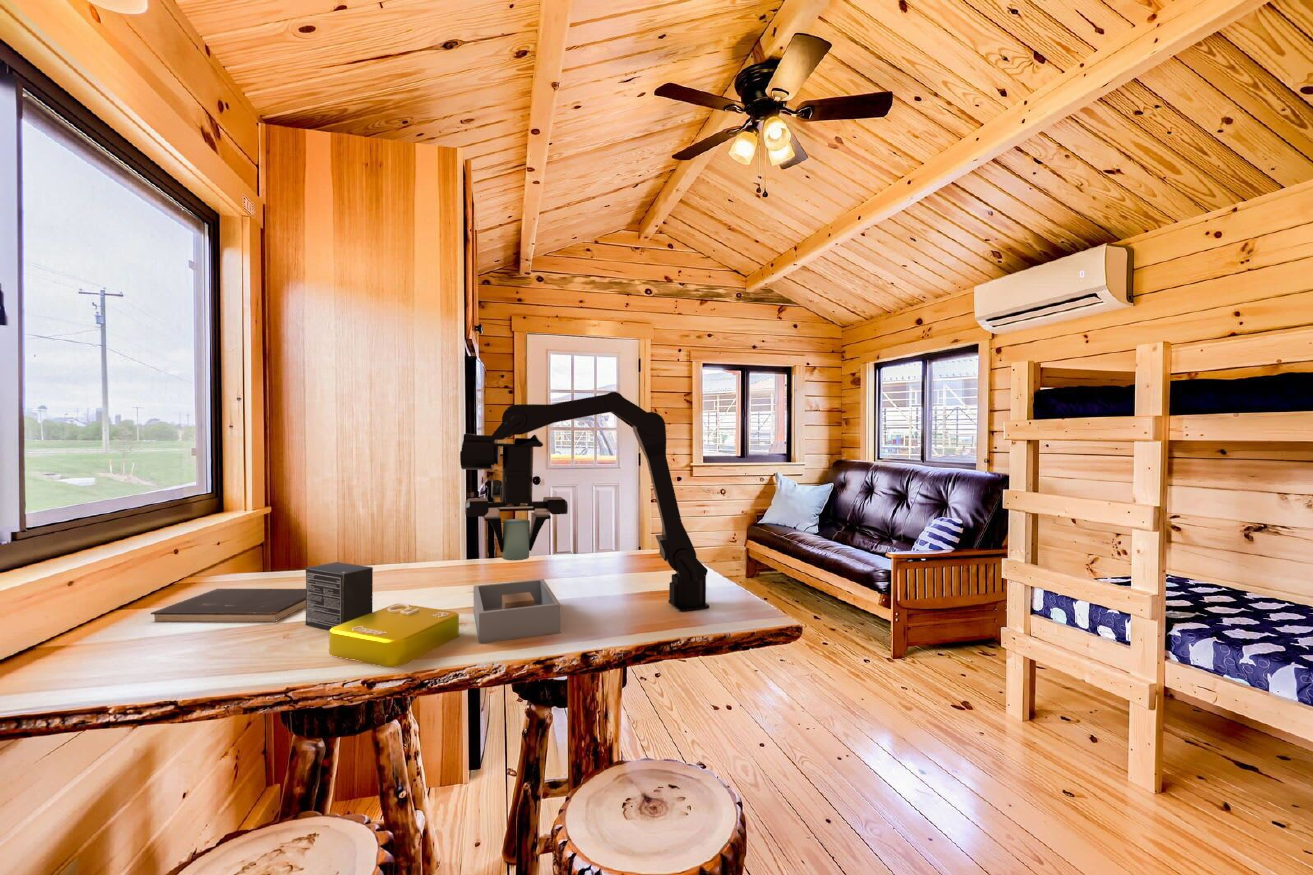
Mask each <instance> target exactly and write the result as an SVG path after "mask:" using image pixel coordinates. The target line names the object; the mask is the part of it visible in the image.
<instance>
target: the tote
mask: <svg viewBox="0 0 1313 875" xmlns="http://www.w3.org/2000/svg"><path fill="white" fill-rule="evenodd" d="M526 592H530V593H531V595H532V597H533V599H534V606H528V607H519V608H510V609H502V595H506V594H516V593H526ZM473 614H474V621H475V626H476V632H477V639H478V643H479V644H484V643H485V644H486V643H492V642H493V643H494V642H499V641H508V640H514V639H522V638H531V637H538V636H546V635H553V634H561V603H560V601H559V600H558V598H557V597H556V595H555V594H554V592H553V590H551V588H550V586H549V585H548V584H547V582H546V581H545V579H543V578H542V579H539V578H538V579H530V580H520V581H519V580H518V581H507V582H498V583H486V584H476V585H475V584H474V585H473Z"/></svg>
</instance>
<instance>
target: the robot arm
mask: <svg viewBox="0 0 1313 875" xmlns="http://www.w3.org/2000/svg"><path fill="white" fill-rule="evenodd" d="M607 413H611V414H612V415H614V416H615V417H617V418H618V419H619V420H621V422H623V423H625V424H626V425H627V426H629V427H630V428H632V431H633V434H634V436H635V438H636V440H637V442H638V445H639V447H640V450H641V451H642V453H643V455H644V457H645V460H646V463H647V467H648V471H649V475H650V479H651V484H652V488H653V492H654V496H655V500H656V505H657V509H658V513H659V517H660V522H661V534H655V538H656V541H657V543H658V546H659V551H658V553H659V555H660V557H661V558H662V559H663V561H664V562H667V563H668V565H669V566H670V568H671V569H672V570H673V571H675V573H673V574H671V581H670V582H669V586H668V587H669V589H668V590H669V596H668V597H669V598H668V602H667V603H669V604H670V605H671V606H673V607H674V609H676V610H677V611H679V612H686V611H687V612H688V611H694V610H704V609H709V608H710V605H709V603H707V592H706V591H707V589H706V588H707V574H708V569H707V567H705V565H704V564H703V563H702V562H701V561H700V560H699V559H698V558H697V552H696V550H695V547H694V545H693V542H692V541H691V538H690V535H689V534H688V532H687V530H686V529H685V526H684V524H683V522H682V518H681V513H680V510H679V505H678V501H677V497H676V493H675V488H674V484H673V480H672V476H671V475H672V474H671V472H670V471H671V470H670V468H669V463H668V459H667V429H666V428H667V426H666V422H665V419H664V418H663V416H662V415H660V414H659V413H657V412H655V411H654V412H653V411H646V410H644V409H643V408H642V407H640V406H638V405H637V404H635V403H633V402H632V401H630V400H628V399H627V398H626V397H624V396H623V395H622V394H621V393H620V392H617V391H611V392H608V393H605V394H600V395H599V394H598V395H594V396H589V397H583V398H577V399H574V400H573V399H572V400H568V401H563V402H562V401H561V402H557V403H550V404H545V403H544V404H541V403H540V404H539V403H537V404H534V403H533V404H531V403H530V404H526V403H523V404H520V403H519V404H512V405H510V406H508V407H507V408H506V409H505V410H504V412H503V413H502V417H501V423H500V424H499V425H498V426H497V428H496V430H494V431H493V433H492V434H491V435H489V434H474V433H464V434H463V440H462V444H461V450H460V453H459V461H460V462H459V463H460V468H461V469H462V470H474V471H475V470H480V471H482V470H484V471H486V470H488V471H489V470H490V471H492V470H494V468H495V465H496V466H497V465H500V461H501V447H502V464H501V465H502V470H501V472H502V473H501V480H491V483H490V484H491V485H490V486H491V489H490V492H491V493H490V495H491V499H493V498H494V499H495V498H498V499H499V501H490V502H489V500H488V498H487V497H482V498H481V497H479V498H478V497H477V498H473V497H471V498H467V500H465V504H464V509H465V510H464V514H465V517H466V518H467V517H468V518H476V517H477V518H478V517H482V518H483V521H485V522H490V524H491V527H492V529H493V530H494V531H493V532H494V535H495V538H496V542H497V544H498V548H499V551H500V553H502V552H503V524H502V517H501V516H500V515H499V514H500V512H501V513H503V512H526V511H527V512H529V511H531V513H530V515H531V516H530V541H529V552H532V550H533V548H534V544H535V543H536V540H537V537H538V535H539V533H540V530H541V529H542V527H543V525H544V523H545V521H546V520H551V519H552V517H551V515H567V514H568V509H569V508H568V507H569V505H568V501H567V500H566V499H565V498H563V497H561V496H544V497H542V498H543V499H542V500H536V501H535V500H533V482H534V481H533V479H534V477H533V476H534V448H542V447H543V446H544V443H543V442H542V441H541V440H540V439H539V438H538V435H537V434H533V435H532V436H531V437H530V438H529V437H514V443H513V442H512V443H508V442H507V443H506V442H498V440H499V441H501V440H502V441H503V440H508V439H509V438H512V437H513V436H514V435H515V436H521V435H526V434H528V433H531V432H534V431H537V430H539V429H542V428H544V427H548V426H549V425H553V424H555V423H560V422H565V421H572V420H575V419H582V418H587V417H592V416H599V415H602V414H607ZM532 511H533V512H532ZM550 514H551V515H550Z"/></svg>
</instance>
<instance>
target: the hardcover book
mask: <svg viewBox="0 0 1313 875" xmlns="http://www.w3.org/2000/svg"><path fill="white" fill-rule="evenodd" d="M303 608H306V588H216V589H212V590H210V591H207V592H204V593H202V594H201V593H200V595H196V596H193V597H191V598H187V599H185V600H182V601H179V602H177V603H174V604H172V605H169V606H168V605H167V606H166V607H163V608H160V609H158V610H155V611H152V612H150V615H153V616H154V620H153V621H154V622H238V621H241V622H243V623H244V622H245V623H246V622H248V621H249V622H251V623H252V622H253V621H254V622H256V621H275V622H277V621H279V620H281V619H284V618H285V617H287V616H289V615H292V614H294V613H295V611H296V612H297V610H298V609H300V610H302V609H303ZM298 611H299V610H298ZM293 612H294V613H293ZM288 614H289V615H288ZM280 618H281V619H280ZM278 619H279V620H278ZM276 620H277V621H276ZM254 622H253V623H254ZM256 623H257V622H256Z"/></svg>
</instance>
